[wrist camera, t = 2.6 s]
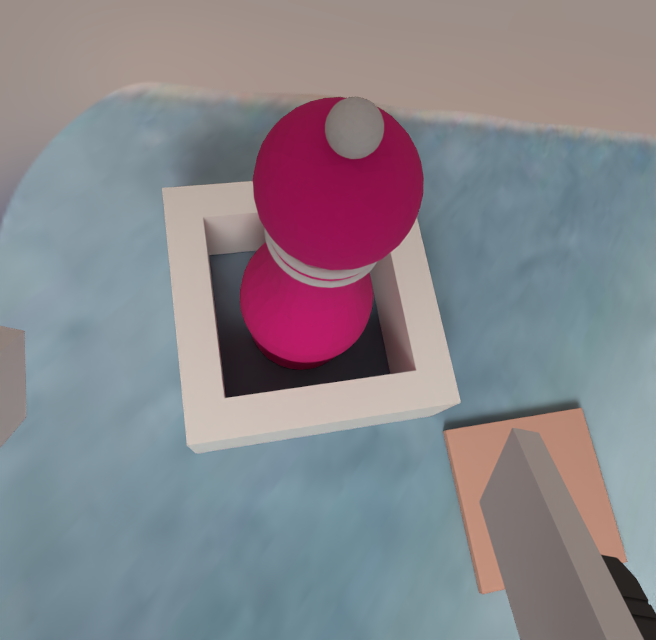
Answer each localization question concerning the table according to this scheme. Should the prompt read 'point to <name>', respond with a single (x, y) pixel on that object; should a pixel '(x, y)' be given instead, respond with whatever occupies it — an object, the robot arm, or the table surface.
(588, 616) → the robot arm
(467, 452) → the rubber mat
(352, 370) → the table surface
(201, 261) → the holder collar
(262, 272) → the pepper mill
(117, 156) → the table surface
